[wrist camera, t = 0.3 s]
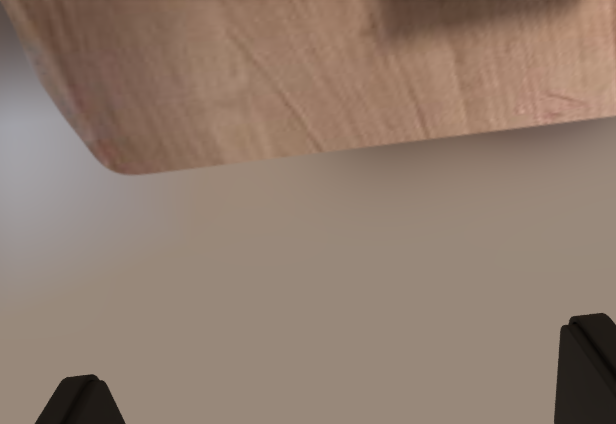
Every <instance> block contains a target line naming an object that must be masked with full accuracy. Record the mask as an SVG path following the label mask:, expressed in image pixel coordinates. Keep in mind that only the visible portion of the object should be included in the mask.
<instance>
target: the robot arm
mask: <svg viewBox="0 0 616 424" xmlns="http://www.w3.org/2000/svg"><path fill="white" fill-rule="evenodd" d="M35 424H125V422H124V419H123V417H122V415H121V413H120V411H119V409H118V407H117V405H116V403H115V401H114V399H113V397H112V395H111V393H110V390H109V388H108V386H107V384H106V383H105V382H104V381H102V380H99V379H98V377H97V376H95V375H93V374H91V375H82V376H74V377H66V378H65V379H63V380H62V381H61V383H60V384H59V386H58V387H57V389H56V390H55V392H54V393H53V395H52V397H51V398H50V400H49V401H48V403H47V405H46V407H45V408H44V410H43V411H42V413H41V414H40V416H39V418H38V419H37V421H36V423H35ZM554 424H616V325H615V323H614V322H613V321H612V320H611V319H610V318H609V317H608V316H607V315H606V314H604V313H597V314H589V315H580V316H573V317H571V318H570V320H569V325H563V326H562V327H561V331H560V345H559V359H558V375H557V387H556V401H555V415H554Z"/></svg>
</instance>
